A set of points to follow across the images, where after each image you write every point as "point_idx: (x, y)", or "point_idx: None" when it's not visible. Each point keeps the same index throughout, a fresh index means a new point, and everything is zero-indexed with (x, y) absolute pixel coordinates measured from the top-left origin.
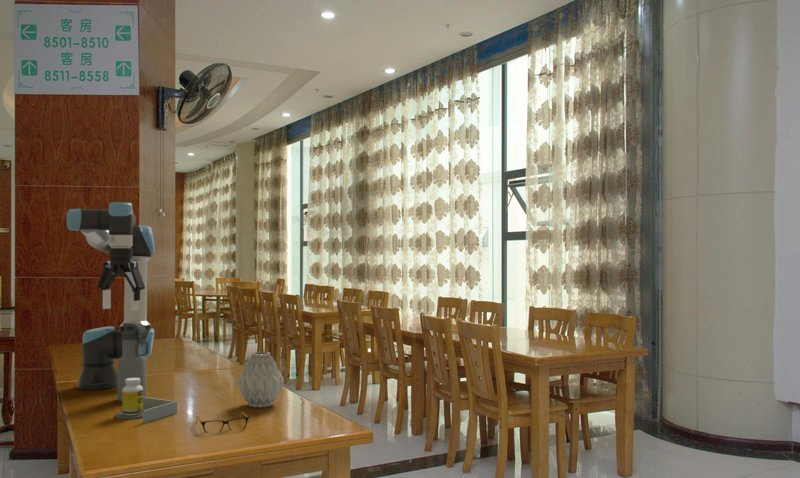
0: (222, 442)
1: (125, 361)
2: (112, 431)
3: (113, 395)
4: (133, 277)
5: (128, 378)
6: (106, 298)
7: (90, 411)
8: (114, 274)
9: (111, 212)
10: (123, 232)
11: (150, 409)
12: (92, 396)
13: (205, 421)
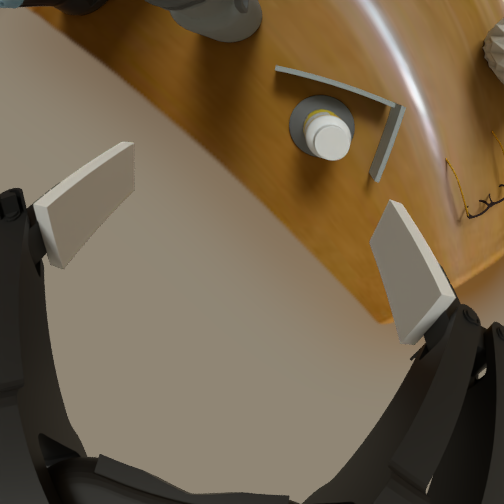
0: (483, 241)
1: (214, 28)
2: (344, 220)
3: None
4: (443, 454)
5: (318, 140)
6: (98, 208)
7: (219, 120)
8: (58, 433)
9: None
10: None
11: (383, 169)
12: (134, 32)
13: (473, 217)
